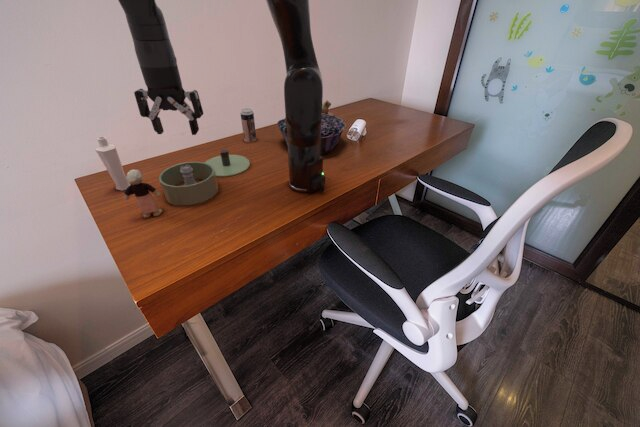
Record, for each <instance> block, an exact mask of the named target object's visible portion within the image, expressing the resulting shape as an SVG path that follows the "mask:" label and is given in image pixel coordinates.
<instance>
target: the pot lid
mask: <svg viewBox="0 0 640 427" xmlns="http://www.w3.org/2000/svg"><path fill="white" fill-rule="evenodd" d="M204 163H208V164H210V165H212V166H213V168H214V169H215V173H216V177H217V178H228V177H233V176H237V175H240V174H243V173H245V172H246V171H247V170H249V168H250V166H251V162H250V160H249V158H247V157H245V156H244V155H239V154H230V152H229V149H226V148H225V149H224V148H223V149H220V150H219V155H217V156H214V157H211V158H209V159H207V160H206V161H204Z"/></svg>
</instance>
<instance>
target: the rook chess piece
mask: <svg viewBox="0 0 640 427" xmlns="http://www.w3.org/2000/svg"><path fill="white" fill-rule="evenodd" d="M192 170H193V169H192V168H191V166H190V165H188V166H187V165H185V167H184V165H183V166H182V167H181V170H180V172H181V173H183V175H182V176H183V177H184V182H183V183H184V184H183V186H187V185H191V184H196V183H198V182H197V181H196V180H194V177H193V173H192Z"/></svg>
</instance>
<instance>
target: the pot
mask: <svg viewBox="0 0 640 427" xmlns="http://www.w3.org/2000/svg"><path fill="white" fill-rule="evenodd" d="M183 165H184V167H185V165H187V166H188V165H190V166H191V168H192V169H193V170H192V173H193V177H194V180H195V181H199V180H201V181H199V182H197V183H196V184H191V185H187V186H184V185H180V184H182V183H185V182H184V177H183V176H182V175H183V173H181V172H180V170H181V167H182V166H183ZM158 180H159V184H160V187H161V189H162V191H163V195H164V197H165V200H166V201H167V203H168V204H170V205H172V206H175V207H179V206H192V205H197V204H201V203H204V202H206V201H208V200H210V199H212V198H213V197H214V196H215V195H217V193H218V191H219V188H220V187H219V182H218V177H216V173H215V169H214V168H213V166H212V165H210V164H208V163H205V162H202V161H185V162H181V163H177V164H174V165H172V166H168V167H167V168H166V169H164V170H163V171H162V172H160V174H159V176H158Z"/></svg>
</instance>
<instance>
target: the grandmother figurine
mask: <svg viewBox="0 0 640 427" xmlns="http://www.w3.org/2000/svg"><path fill="white" fill-rule="evenodd" d="M126 178H127V181H128V182H129V183H130V186H129V187H128V188H127V189H125V190H124V191H123V194H124V197H123V198H124V200H125V201H128V200H130V196H132V195H134V197H135V201H136V203H137V206H138V207H139V209H140V211H141V213H142V216H143V218H144V219H148V218H150V217H151V216H153V217H159V216H160V215H161V214H162V213H163V209H162V208H159V206H158V204H157V202H156V201H155V199H154V196H153V195H155V197H156V198H159V197H161V193H160V192H159V191H158V190H157V189H156V188H155V187H154V186H152V185H151V184H149V183H147V182H143V174H142V172H141V171H140V170H138V169H130V170H129V171H128V172H127V174H126ZM152 194H153V195H152Z"/></svg>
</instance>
